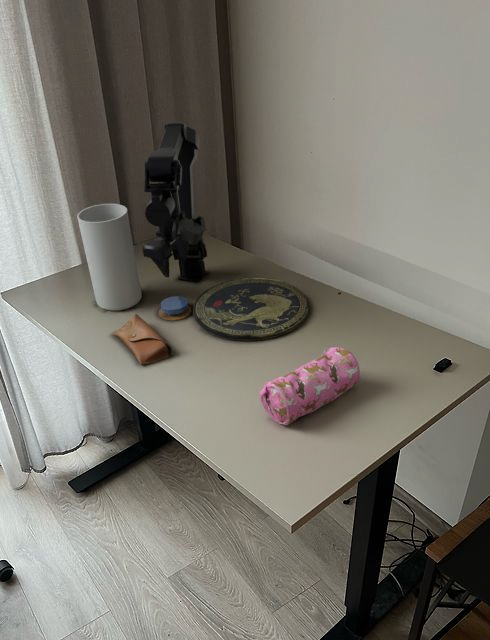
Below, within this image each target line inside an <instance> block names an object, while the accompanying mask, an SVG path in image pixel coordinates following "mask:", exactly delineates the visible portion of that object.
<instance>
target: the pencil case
mask: <svg viewBox="0 0 490 640" xmlns="http://www.w3.org/2000/svg"><path fill="white" fill-rule="evenodd" d="M360 378H361V369H360V365H359V362H358V360H357V358H356V356H355V354H353V352H352V351H350V350H349V349H347V348H342V347H339V346H335V347H334V346H331V347H330V348H327V347H326V348H325V349H324V350H323V352H322V354H321V355H320V356H318V357H317V358H315V359H313V360H311V361H310V362H307V363H304V364H302V365H301V366H299V367H298V368H296V369H294V370H293V371H291V372H289V373H286V374H284V375H281V376H278V377H276V378H274V379H271V380H269V381H267V382H266V383H265V386H263V388H262V389H261V390H260V391H259V395H260V402H261V405H262V407H263V409H264V410H265V411H266V413H267V414H268V416H269V417H270V418H271V419H272V420H273V421H275V422H276V423H277V424H280V425H282V426H289V425H290V424H292V423H294V421H296V420H297V419H299V418H300V417H303V416H305V415H307V414H308V415H309V414H310V413H314V412H315V411H317V410H318V409H320V408H321V407H323V406H326V405H328V404H329V403H331V402H333V401H335V400H336V399H338V398H339V397H340V396H342V395H343V394H344V393H346V392H347V391H348V390H350V389H351V388H353V387H355V386H357V385H358V383H359V381H360Z"/></svg>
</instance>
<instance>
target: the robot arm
mask: <svg viewBox="0 0 490 640" xmlns="http://www.w3.org/2000/svg"><path fill="white" fill-rule="evenodd" d="M198 150H200V136H199V134H198V132H197V130H196V129H194V128H192V127H190V126H187V124H186V123H185V122H182V121H179V122H167V123H165V124H164V132H163V136H162V138H161V141H160V144H159V146H158V149H156V150H154V151H152V152H151V153H150V154H149V155H148V157H147V159H146V160H145V162H144V180H143V181H144V186H143V187H144V188H143V190H144V193H150V194H151V198H150V200H149V202H148V204H147V205H146V207H145V210H144V215H145V219H146V220H147V223H149V224H151V225H152V226H154V227H158V230H157V231H156V232H155V236H156V237H158V238H159V237H160V238H161V240H159V239H150V240H149V241H148V242H147V243H146V244H144V245H143V246H142V255H143V257H145V258H147V259H151V261H152V262H153V263H154V264H155V265H156V267H157V268H158V269H159V271H160V272H161V273H162V276H164V278H169V277H170V258H171V257H172V256H173V259H174V261H178V267H179V276H177V280H180V281H187V282H193V283H199V281H201V279H202V278H204V277H205V275H206V274H207V272H208V271H207V270H206V265H205V264H206V263H205V260H204V259H205V258H207V257H208V252H207V247H206V243H205V241H204V239H203V236H204V233H205V232H206V231H207V227H206V225H207V224H206V221H205V217H204V216H202V215H198V216H196V217H195V204H194V203H195V201H194V179H193V178H194V177H193V176H194V175H193V166H194V164H195V162H196V160H197V158H198V154H199V153H198V152H199V151H198Z"/></svg>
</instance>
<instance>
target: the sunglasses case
mask: <svg viewBox="0 0 490 640" xmlns="http://www.w3.org/2000/svg"><path fill="white" fill-rule="evenodd" d="M112 335H113V336H114V337H115V338H117V339H118V340H119V341H120V342H121V343H122V344H123V345H124V346H125V347H126V348H127V350H128V351H130V353H131V354H132V355H133V356H134V357H135V359H136V361H137V362H138V363H139V365H143V366H144V365H145V366H146V365H149V364H154V363H157V362H160V361H162V360H163V361H164V360H165V359H168V358H169V357H170V356H171V355H172V353H173V349H172V346H170V345H171V344H169V343H168V342H167V341H166V340H165V339H164V337H162V336H161V335H160V334H159V333H158V332H157V331H156V330H155V329H154V328H153V327H152V326H151V325H150V324H149V323H148V322H147V321H146V320H145V319H143V318H142V317H141V316H139V315H138V314H137V313H135V314H134V316H133V317H132V318H131V319H129V320H128V321H127V322H126V323H125V324H124V325H122V326H121V327H120V328H119V329H118V330H117V331H116V332H114V333H112Z"/></svg>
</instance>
